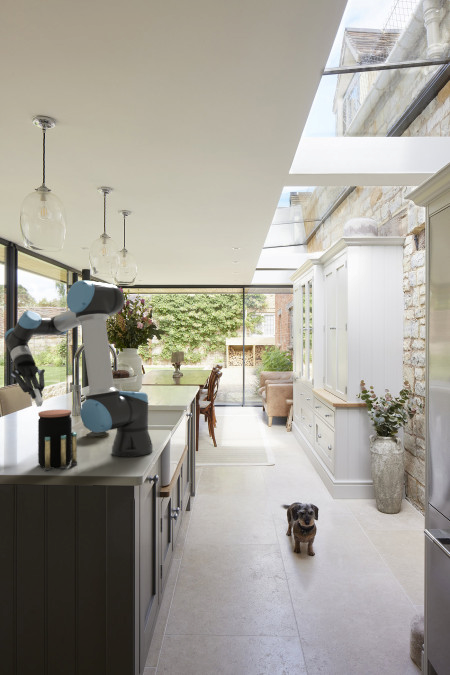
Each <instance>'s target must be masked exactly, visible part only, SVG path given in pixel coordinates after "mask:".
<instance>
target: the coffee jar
mask: <svg viewBox="0 0 450 675" xmlns="http://www.w3.org/2000/svg"><path fill="white" fill-rule="evenodd" d="M71 414H72V410H70V409H49V410H42V411H39V412H38V417H39V419H38V421H37V422H38V424H37V425H38V426H37V427H38V430H37V433H38V434H37V435H38V436H37V437H38V440H37V444H38V447H37V450H38V453H37V456H38V458H37V462H38V465H39V466H40V467H41V468H42V469H43V468H45V437H47V436H50V437H51V440H50V467H51V469H58V468H59V469H60V466H61V435H66V465H67V466H68V465H70V464H71V462H72V436H71V433H72V417H71Z"/></svg>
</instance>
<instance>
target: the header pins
mask: <svg viewBox="0 0 450 675" xmlns="http://www.w3.org/2000/svg"><path fill="white" fill-rule="evenodd" d="M77 433H78V432H77V431H73V432H72V433H71V436H72V459H71V461H70V466H72V467H76V466H77V465H78V460H77V457H78V456H77V451H78V450H77V448H78V447H77V436H78V435H77ZM50 440H51V437H50V436H47V437H45V468H44V472H50V471H52V468H51V467H50ZM67 466H68V465H66V435H61V466H60V467H59V470H61V471H63V470H67Z"/></svg>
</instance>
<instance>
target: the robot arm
mask: <svg viewBox="0 0 450 675" xmlns="http://www.w3.org/2000/svg"><path fill="white" fill-rule="evenodd" d="M124 304H125V296H124V292H123V291H122V290H121V289H120V287H118V286H117V285H115V284H112V283H106V282H97V281H93V280H77V281H76V282H74V283H73V284H72V285H71V286H70V287H69V289H68V291H67V294H66V306H67V308H68V310H67V311H64V312H62V313H60V314H56V315H55V316H53V317H41V315H40V314H39V313H38V312H36V311H35V312H34V311H32V310H26V311H24V312H23V313H22V314H21V316H20V317H19V318H18V321H17V323H16V324H15V326H14V327H12V328H9V330H6V331H5V333H4V341H5V342H4V343H5V345H6V347H7V349H8V352H9V354H10V357H11V359H12V363H13V366H14V368H15V370H12V372H11V374H10V377H11V378H12V379H13V380H15V381H16V383H17V385H18V386H19V387H20V389H21V390H22V392H24V393H28V395H30V398H31V399H32V400H34V402H35V405H36V407H42V405H43V402H44V401H43V395H44V394H43V393H42V392H43V391H44V389H45V371H46V370H45V369H43V368H42V369H39V368H38V366H37V365H36V362H35V359H34V356H33V353H32V351H31V349H30V347H29V342H30V341H31V339H32V338H33V336H64V335H66V334H67V333H68V332H69V330H71V329H74V328H76V327H79V326H81V333H82V341H83V343H82V344H83V351H84V357H85V366H86V372H87V375H86V376H87V381H88V391H87V393H86V394H85V401H83V403H82V404H81V407H80V409H79V411H80V412H79V414H80V415H79V416H80V418H81V422H82V423H83V424H84V425H85V426H84V425H83V426H84V427H85V428H86V427H87V428H88V429H87V428H86V429H87V430H89V431H90V432H108V431H111V430H116V434H115V437H114V440H113V444H112V446H111V453H112V455H114V456H117V457H125V458H127V457H129V458H131V457H133V458H134V457H140V456H145V455H148V454H151V453H153V450H154V448H153V446H154V445H153V443H152V440H151V436H150V433H149V426H148V425H149V398H148V394H147V393H146V392H143V391H130V390H127V391H125V390H120V389H118V388H117V387H116V386H115V382H114V377H113V374H114V373H113V367H112V361H111V360H112V359H111V353H110V345H109V343H110V342H109V336H108V330H107V329H108V328H107V322H106V321H107V320H108V319H109V318H110V316H111V317H112V316H113V315H117V313H120V311H121V310H122V309H123V308H124ZM37 374H38V378H37Z"/></svg>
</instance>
